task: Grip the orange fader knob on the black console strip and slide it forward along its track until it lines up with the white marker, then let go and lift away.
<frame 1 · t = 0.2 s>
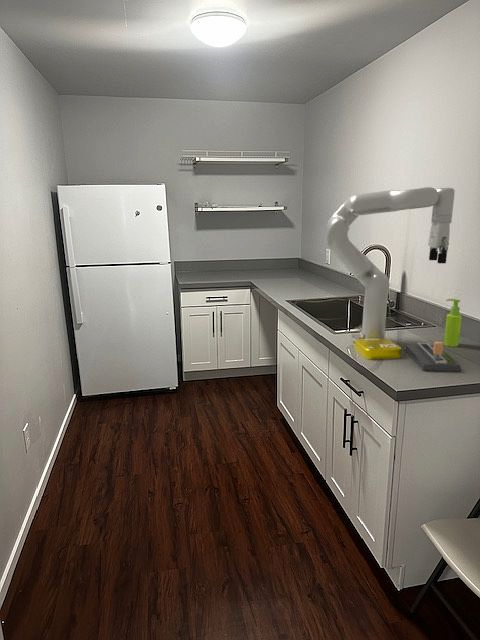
hand: (437, 261, 188), 36 cm above the worktop, tool pointing down, fingers open, 9 cm apart
console: (430, 360, 178), on the worktop
soap dispenser: (449, 344, 197), on the worktop
element tile: (376, 354, 187), on the worktop
fader knob: (437, 350, 170), point 6 cm above the worktop, slide at -6.5 cm
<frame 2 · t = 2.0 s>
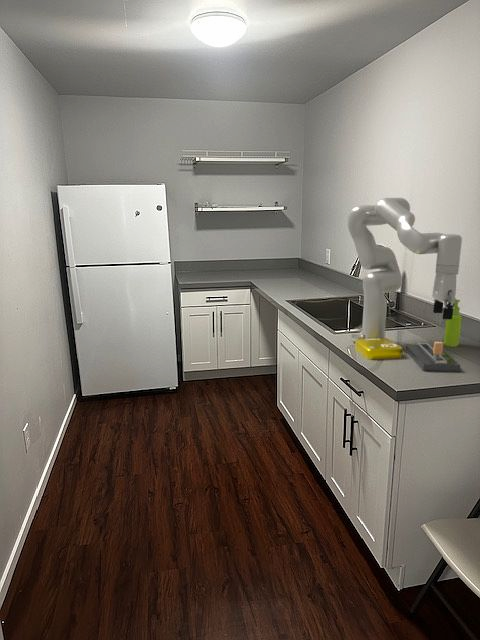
hand: (442, 315, 166), 20 cm above the worktop, tool pointing down, fingers open, 9 cm apart
nothing on the worktop moved.
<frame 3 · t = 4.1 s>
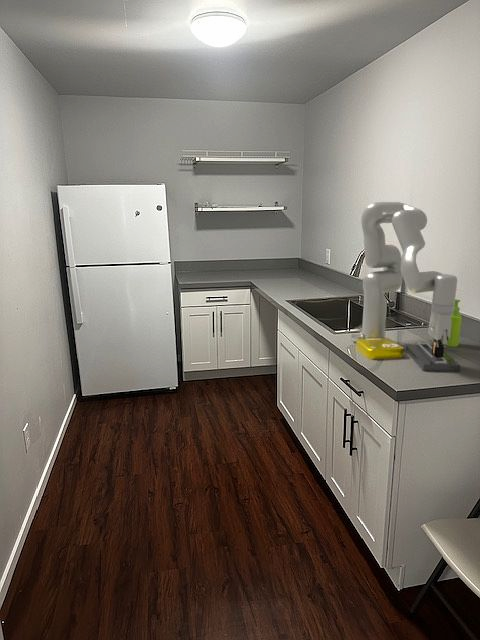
hand: (437, 355, 171), 4 cm above the worktop, tool pointing down, fingers closed on fader knob, 2 cm apart
fader knob: (437, 350, 170), point 6 cm above the worktop, slide at -6.5 cm, touching gripper
everything else where it was.
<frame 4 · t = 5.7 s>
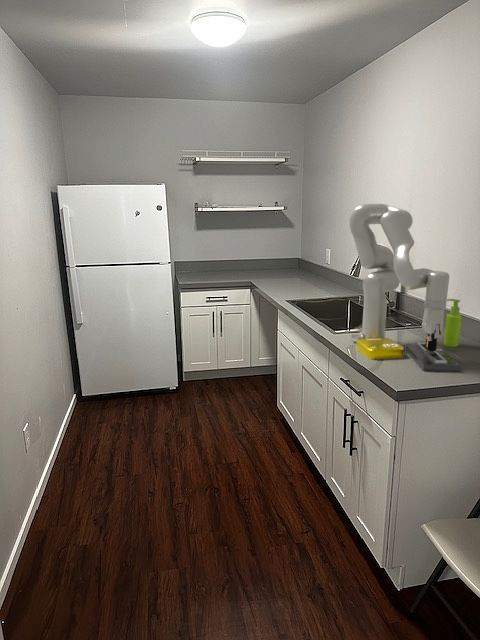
hand: (430, 349, 178), 4 cm above the worktop, tool pointing down, fingers closed on fader knob, 2 cm apart
fader knob: (431, 344, 177), point 6 cm above the worktop, slide at 1.0 cm, touching gripper
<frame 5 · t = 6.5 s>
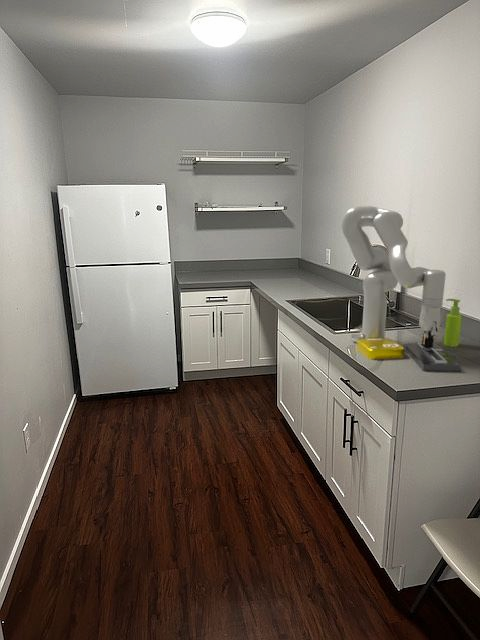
hand: (427, 346, 182), 4 cm above the worktop, tool pointing down, fingers closed on fader knob, 2 cm apart
fader knob: (427, 341, 181), point 6 cm above the worktop, slide at 4.9 cm, touching gripper
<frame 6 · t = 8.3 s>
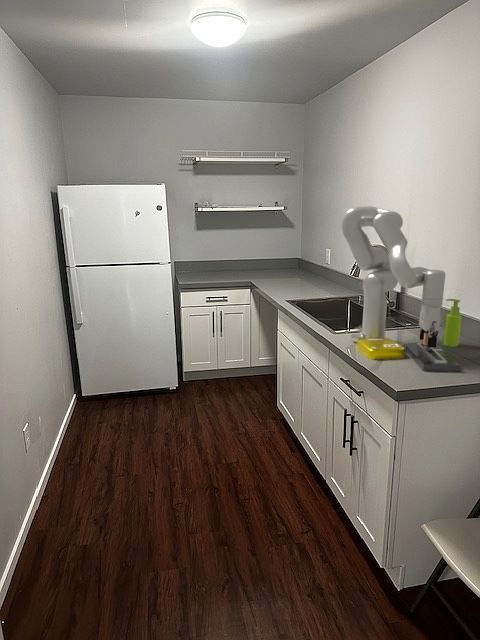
hand: (427, 343, 181), 5 cm above the worktop, tool pointing down, fingers open, 9 cm apart
fader knob: (427, 341, 181), point 6 cm above the worktop, slide at 5.0 cm
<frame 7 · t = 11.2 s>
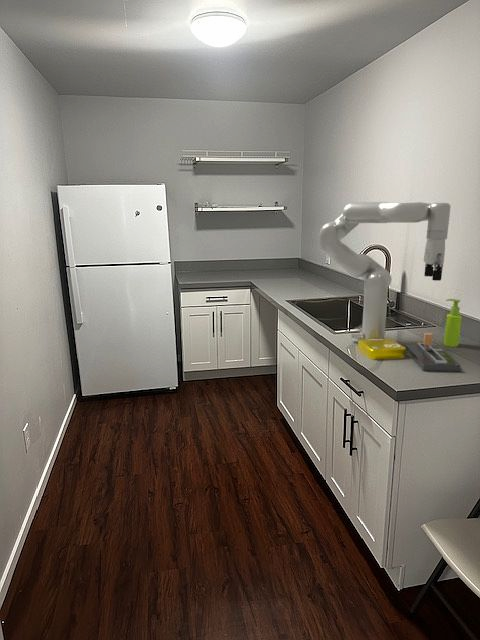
hand: (432, 278, 182), 30 cm above the worktop, tool pointing down, fingers open, 9 cm apart
at the end: fader knob slide at 5.0 cm; the gripper is holding nothing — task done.
